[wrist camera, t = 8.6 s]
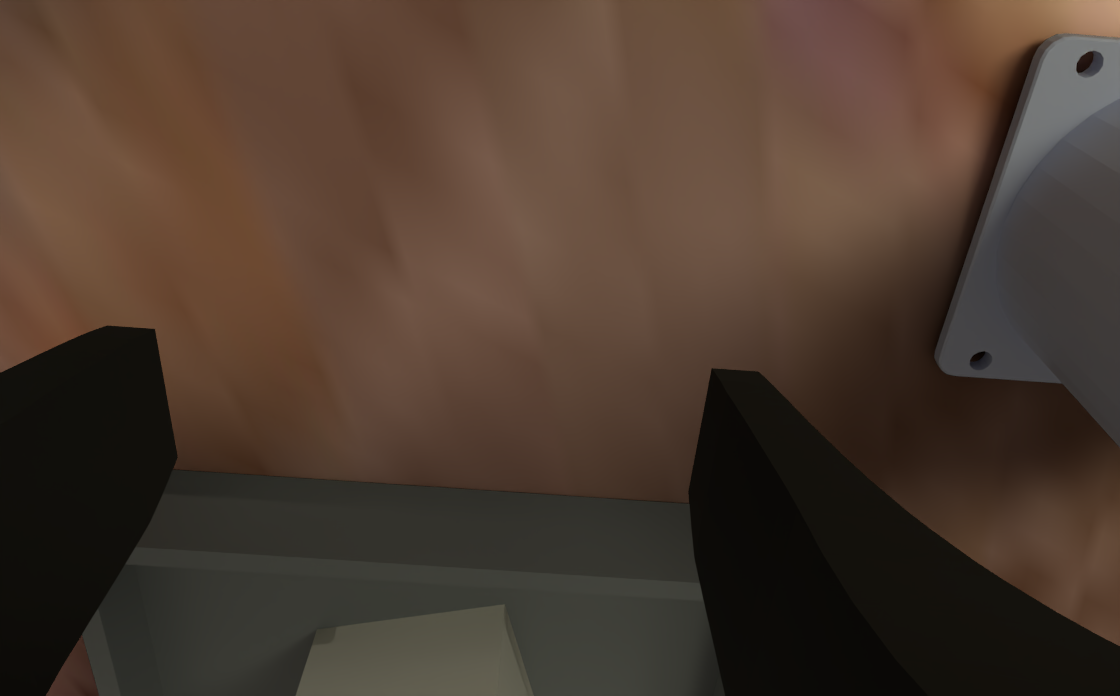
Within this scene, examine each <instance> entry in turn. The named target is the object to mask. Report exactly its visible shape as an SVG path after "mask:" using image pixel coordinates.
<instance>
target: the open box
mask: <svg viewBox="0 0 1120 696" xmlns="http://www.w3.org/2000/svg"><path fill="white" fill-rule="evenodd" d="M296 696H534V695H533V692H532V689H531V686H530V682H529V679H528V676H527V673H526V670H525V667H524V663H523V660H522V657H521V654H520V651H519V648H518V645H517V641H516V638H515V635H514V632H513V629H512V626H511V622H510V619H509V616H508V613H507V610H506V607H505V604H503V605H495V606H488V607H480V608H473V609H465V610H458V611H450V612H443V613H435V614H428V615H421V616H413V617H406V618H398V619H391V620H383V621H376V622H368V623H361V624H353V625H346V626H338V627H331V628H324V629H317V631H316V634H315V637H314V640H313V643H312V646H311V649H310V653H309V656H308V659H307V662H306V665H305V668H304V671H303V674H302V677H301V681H300V684H299V687H298V690H297V693H296Z"/></svg>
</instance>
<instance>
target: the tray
mask: <svg viewBox="0 0 1120 696" xmlns="http://www.w3.org/2000/svg"><path fill="white" fill-rule="evenodd" d="M503 604H505V607H506V610H507V613H508V616H509V619H510V622H511V626H512V629H513V632H514V635H515V638H516V641H517V645H518V648H519V651H520V654H521V657H522V660H523V663H524V667H525V670H526V673H527V676H528V679H529V682H530V686H531V689H532V692H533V695H534V696H725V693H724V688H723V684H722V679H721V675H720V671H719V666H718V662H717V658H716V653H715V649H714V644H713V640H712V636H711V631H710V627H709V622H708V618H707V614H706V609H705V605H704V600H703V596H702V591H701V586H700V582H699V577H698V573H697V568H696V563H695V559H694V550H693V540H692V529H691V517H690V504H683V503H668V502H653V501H638V500H623V499H608V498H592V497H577V496H562V495H547V494H532V493H517V492H502V491H487V490H472V489H457V488H442V487H427V486H412V485H397V484H381V483H366V482H351V481H336V480H321V479H306V478H291V477H276V476H261V475H246V474H231V473H216V472H201V471H185V470H172V472H171V475H170V477H169V480H168V482H167V485H166V487H165V490H164V492H163V495H162V497H161V499H160V501H159V504H158V506H157V508H156V510H155V513H154V515H153V517H152V519H151V522H150V523H149V525H148V527H147V529H146V530H145V532H144V534H143V535H142V537H141V539H140V541H139V542H138V544H137V545H136V547H135V549H134V550H133V552H132V554H131V555H130V557H129V559H128V560H127V562H126V564H125V565H124V567H123V569H122V570H121V572H120V574H119V575H118V577H117V578H116V580H115V582H114V583H113V585H112V587H111V588H110V590H109V591H108V593H107V595H106V596H105V598H104V599H103V601H102V603H101V604H100V606H99V608H98V609H97V611H96V612H95V614H94V616H93V617H92V619H91V620H90V622H89V624H88V625H87V627H86V629H85V630H84V632H83V633H82V636H83V640H84V643H85V647H86V650H87V654H88V658H89V661H90V665H91V668H92V672H93V675H94V679H95V682H96V686H97V690H98V693H99V696H296V693H297V690H298V687H299V684H300V681H301V677H302V674H303V671H304V668H305V665H306V662H307V659H308V656H309V653H310V649H311V646H312V643H313V640H314V637H315V634H316V631H317V629H324V628H331V627H338V626H346V625H353V624H361V623H368V622H376V621H383V620H391V619H398V618H406V617H413V616H421V615H428V614H435V613H443V612H450V611H458V610H465V609H473V608H480V607H488V606H495V605H503Z"/></svg>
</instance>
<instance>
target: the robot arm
mask: <svg viewBox="0 0 1120 696" xmlns="http://www.w3.org/2000/svg"><path fill="white" fill-rule="evenodd" d="M1090 51H1092V52H1093V54H1094V55H1093V62H1092V63H1091V65H1090V66H1089V68H1087V69H1086V70H1085V71H1083V72H1080V73H1077V71H1076V66H1077V62H1078V61H1079V59H1080V57H1081V56H1083V55H1084V54H1085V53H1087V52H1090ZM983 351H985V354H984V356H983V357H982V358H981V359H979V360H978V361H974V362H970V359H971V358H972V356H973V355H975V354H976V353H978V352H983ZM934 358H935V360H936V363H937V365H938V366H939V367H940V369H941V370H942V371H943V372H944V373H946V374H948V375H952V376H962V377H976V378H990V379H1004V380H1019V381H1033V382H1047V383H1061V384H1063V385H1064V386H1065V387H1066V388H1067V389H1068V390H1069V392H1070V393H1071V394H1072V395H1073V396H1074V397H1075V398H1076V399H1077V400H1078V402H1079V403H1080V404H1081V405H1082V406H1083V407H1084V408H1085V409H1086V410H1087V412H1088V413H1089V414H1090V415H1091V416H1092V417H1093V418H1094V419H1095V421H1096V422H1097V423H1098V424H1099V425H1100V426H1101V427H1102V428H1103V429H1104V431H1105V432H1106V433H1107V434H1108V435H1109V436H1110V437H1111V438H1112V439H1113V441H1114V442H1115V443H1116V444H1117V445H1118V446H1119V447H1120V38H1118V37H1106V36H1094V35H1082V34H1069V33H1064V34H1056V35H1054V36H1052V37H1050V38H1048V39H1046V40H1045V41H1044V42H1043V43H1042V44H1041V45H1040V46H1039V47H1038V49H1037V51H1036V53H1035V55H1034V56H1033V59H1032V62H1031V65H1030V68H1029V71H1028V74H1027V77H1026V80H1025V83H1024V86H1023V89H1022V92H1021V95H1020V98H1019V101H1018V104H1017V107H1016V110H1015V113H1014V116H1013V119H1012V122H1011V125H1010V128H1009V131H1008V134H1007V137H1006V140H1005V143H1004V146H1003V149H1002V152H1001V155H1000V158H999V161H998V164H997V167H996V170H995V173H994V176H993V179H992V182H991V185H990V188H989V191H988V194H987V197H986V200H985V203H984V206H983V209H982V212H981V215H980V218H979V221H978V224H977V227H976V230H975V233H974V236H973V239H972V242H971V245H970V248H969V251H968V254H967V256H966V259H965V262H964V265H963V268H962V271H961V274H960V277H959V280H958V283H957V286H956V289H955V292H954V295H953V298H952V301H951V304H950V307H949V310H948V313H947V316H946V319H945V322H944V325H943V328H942V331H941V334H940V337H939V340H938V343H937V346H936V349H935V355H934ZM177 458H178V457H177V451H176V446H175V440H174V434H173V429H172V423H171V418H170V412H169V406H168V401H167V395H166V389H165V384H164V378H163V372H162V367H161V361H160V356H159V350H158V344H157V339H156V333H155V329H147V328H133V327H119V326H105V327H102V328H99V329H96V330H93V331H91V332H88V333H86V334H83V335H81V336H78V337H76V338H74V339H72V340H69V341H67V342H65V343H63V344H60V345H58V346H56V347H54V348H52V349H50V350H48V351H45V352H43V353H41V354H39V355H37V356H35V357H33V358H31V359H29V360H26V361H24V362H22V363H20V364H18V365H16V366H14V367H12V368H10V369H8V370H5V371H3V372H1V373H0V696H46V694H47V692H48V691H49V689H50V687H51V685H52V684H53V682H54V680H55V678H56V676H57V675H58V673H59V671H60V669H61V667H62V666H63V664H64V663H65V661H66V659H67V658H68V656H69V654H70V653H71V651H72V650H73V648H74V646H75V645H76V643H77V642H78V640H79V638H80V637H81V635H82V633H83V632H84V630H85V629H86V627H87V625H88V624H89V622H90V620H91V619H92V617H93V616H94V614H95V612H96V611H97V609H98V608H99V606H100V604H101V603H102V601H103V599H104V598H105V596H106V595H107V593H108V591H109V590H110V588H111V587H112V585H113V583H114V582H115V580H116V578H117V577H118V575H119V574H120V572H121V570H122V569H123V567H124V565H125V564H126V562H127V560H128V559H129V557H130V555H131V554H132V552H133V550H134V549H135V547H136V545H137V544H138V542H139V541H140V539H141V537H142V535H143V534H144V532H145V530H146V529H147V527H148V525H149V523H150V522H151V519H152V517H153V515H154V513H155V510H156V508H157V506H158V504H159V501H160V499H161V497H162V495H163V492H164V490H165V487H166V485H167V482H168V480H169V477H170V475H171V472H172V470H173V468H174V465H175V463H176V460H177ZM689 504H690V517H691V529H692V540H693V550H694V559H695V563H696V568H697V573H698V577H699V582H700V586H701V591H702V596H703V600H704V605H705V609H706V614H707V618H708V622H709V627H710V631H711V636H712V640H713V644H714V649H715V653H716V658H717V662H718V666H719V671H720V675H721V679H722V684H723V688H724V693H725V696H1120V646H1118V645H1116V644H1114V643H1112V642H1110V641H1108V640H1106V639H1104V638H1102V637H1100V636H1099V635H1097V634H1095V633H1093V632H1091V631H1089V630H1088V629H1086V628H1084V627H1082V626H1080V625H1079V624H1077V623H1075V622H1073V621H1071V620H1070V619H1068V618H1066V617H1064V616H1062V615H1061V614H1059V613H1057V612H1055V611H1054V610H1052V609H1050V608H1049V607H1047V606H1045V605H1044V604H1042V603H1041V602H1039V601H1037V600H1036V599H1034V598H1032V597H1031V596H1029V595H1027V594H1026V593H1024V592H1022V591H1021V590H1019V589H1018V588H1016V587H1014V586H1013V585H1011V584H1009V583H1008V582H1006V581H1004V580H1003V579H1001V578H1000V577H998V576H997V575H995V574H994V573H992V572H991V571H989V570H987V569H986V568H984V567H983V566H981V565H980V564H978V563H977V562H975V561H974V560H972V559H971V558H970V557H968V556H967V555H965V554H964V553H963V552H961V551H960V550H959V549H957V548H956V547H954V546H953V545H952V544H950V543H949V542H947V541H946V540H945V539H943V538H942V537H940V536H939V535H938V534H936V533H935V532H933V531H932V530H931V529H929V528H928V527H927V526H925V525H924V524H923V523H921V522H920V521H919V520H918V519H916V518H915V517H914V516H912V515H911V514H910V513H909V512H907V511H906V510H905V509H904V508H903V507H901V506H900V505H899V504H898V503H897V502H895V501H894V500H893V499H892V498H891V497H890V496H888V495H887V494H886V493H885V492H884V491H882V490H881V489H880V488H879V487H878V486H877V485H875V484H874V483H873V482H872V481H871V480H869V479H868V478H867V477H866V476H865V475H864V474H863V473H862V472H861V471H860V470H858V469H857V468H856V467H855V466H854V465H853V464H852V463H851V462H850V461H849V460H847V459H846V458H845V457H844V456H843V455H842V454H841V453H840V452H839V451H838V450H837V449H836V448H835V447H834V446H833V445H832V444H831V443H830V442H829V441H828V440H826V439H825V438H824V437H823V436H822V435H821V434H820V433H819V432H818V431H817V430H816V429H815V428H814V427H813V426H812V425H811V424H810V423H809V422H808V421H807V420H806V419H805V418H804V417H803V416H802V415H801V414H800V413H799V412H798V411H797V409H796V408H795V407H794V406H793V405H792V404H791V403H790V402H789V401H788V400H787V399H786V398H785V397H784V396H783V395H782V394H781V393H780V392H779V391H778V390H777V389H776V388H775V387H774V386H773V385H772V384H771V383H770V382H769V381H768V380H767V379H766V378H765V377H764V376H762V375H761V374H760V373H759V372H755V371H741V370H727V369H713V368H712V370H711V376H710V381H709V386H708V391H707V397H706V402H705V407H704V412H703V418H702V423H701V428H700V434H699V439H698V444H697V449H696V455H695V460H694V465H693V470H692V476H691V481H690V486H689Z"/></svg>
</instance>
